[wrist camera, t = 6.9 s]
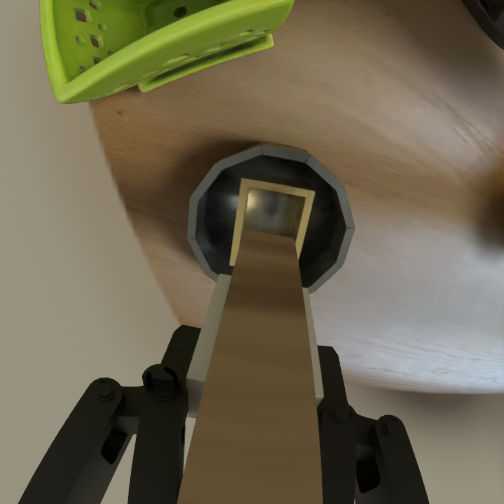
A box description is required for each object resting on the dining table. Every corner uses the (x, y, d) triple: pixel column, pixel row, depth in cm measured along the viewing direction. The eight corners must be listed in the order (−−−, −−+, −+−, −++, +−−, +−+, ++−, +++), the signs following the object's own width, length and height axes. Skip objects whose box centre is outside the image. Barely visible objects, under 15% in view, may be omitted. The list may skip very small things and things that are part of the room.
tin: (208, 134, 23) (195, 136, 19) (356, 161, 23) (370, 169, 19) (195, 265, 29) (185, 286, 25) (321, 287, 29) (326, 310, 25)
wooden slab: (243, 229, 16) (171, 530, 3) (294, 237, 16) (323, 540, 3) (233, 297, 19) (184, 536, 5) (277, 305, 19) (271, 545, 5)
